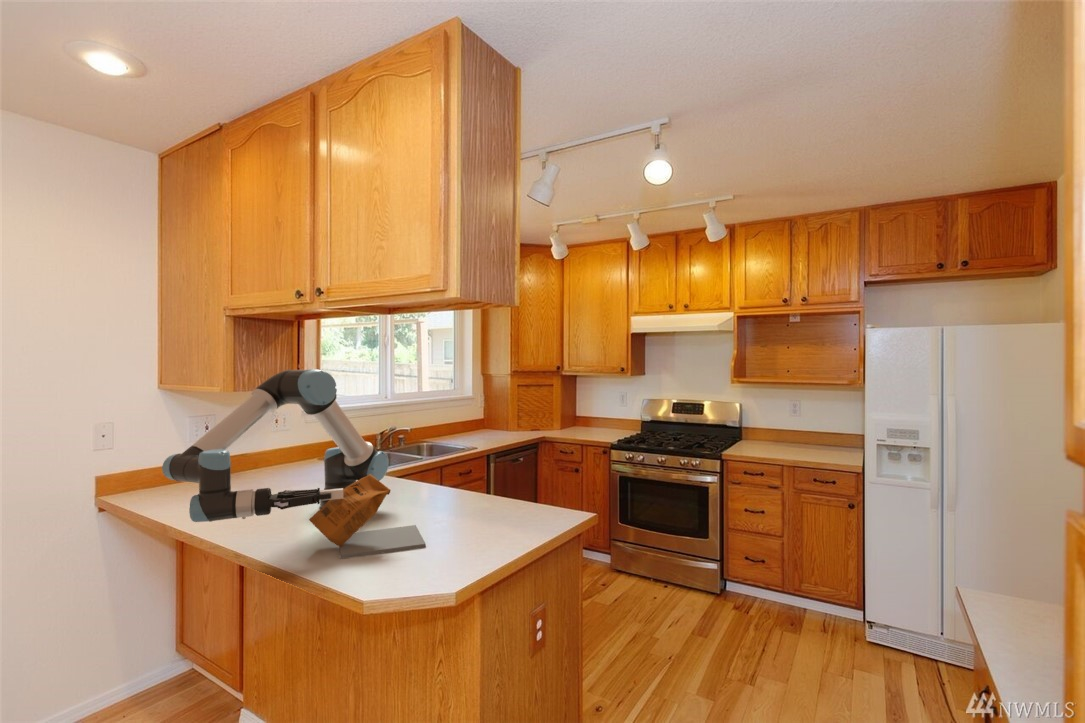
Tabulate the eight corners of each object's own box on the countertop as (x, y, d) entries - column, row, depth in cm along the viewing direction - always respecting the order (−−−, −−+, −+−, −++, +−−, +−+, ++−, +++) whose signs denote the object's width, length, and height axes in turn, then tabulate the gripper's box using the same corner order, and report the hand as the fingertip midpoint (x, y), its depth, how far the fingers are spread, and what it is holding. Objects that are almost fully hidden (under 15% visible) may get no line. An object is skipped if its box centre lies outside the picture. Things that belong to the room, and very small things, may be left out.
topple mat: (339, 537, 166) (339, 534, 166) (415, 527, 175) (415, 525, 175) (340, 558, 147) (340, 555, 147) (425, 546, 156) (425, 543, 156)
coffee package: (320, 531, 161) (374, 480, 172) (341, 553, 155) (397, 498, 165) (304, 515, 155) (362, 463, 165) (326, 536, 148) (385, 480, 159)
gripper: (258, 509, 154) (342, 500, 163) (252, 522, 142) (343, 511, 151) (257, 484, 154) (342, 476, 163) (251, 495, 142) (343, 485, 151)
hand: (343, 493), depth 157 cm, fingers closed
